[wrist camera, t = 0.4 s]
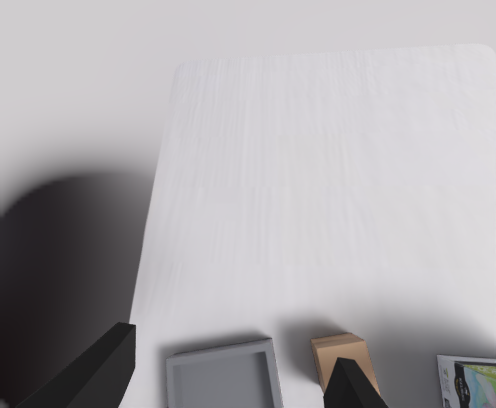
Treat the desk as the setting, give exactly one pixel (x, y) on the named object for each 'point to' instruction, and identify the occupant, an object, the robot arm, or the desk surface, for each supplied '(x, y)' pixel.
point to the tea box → (467, 381)
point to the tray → (225, 377)
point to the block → (344, 348)
